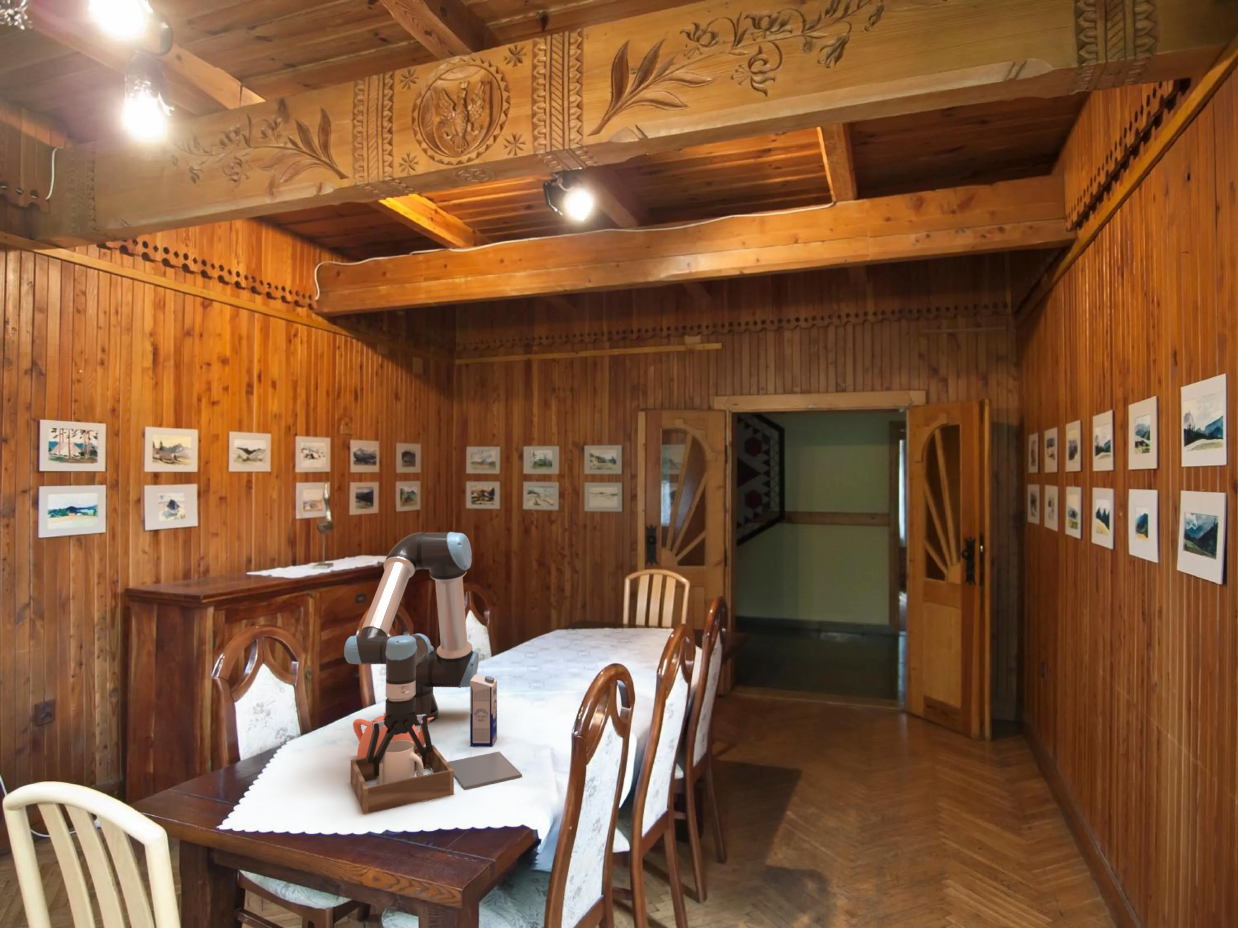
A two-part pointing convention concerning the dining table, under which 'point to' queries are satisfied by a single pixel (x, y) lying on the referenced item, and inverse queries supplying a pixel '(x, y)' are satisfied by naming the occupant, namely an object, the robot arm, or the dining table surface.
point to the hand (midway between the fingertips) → (399, 783)
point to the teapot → (380, 735)
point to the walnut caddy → (401, 784)
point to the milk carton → (483, 711)
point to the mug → (399, 761)
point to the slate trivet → (483, 770)
